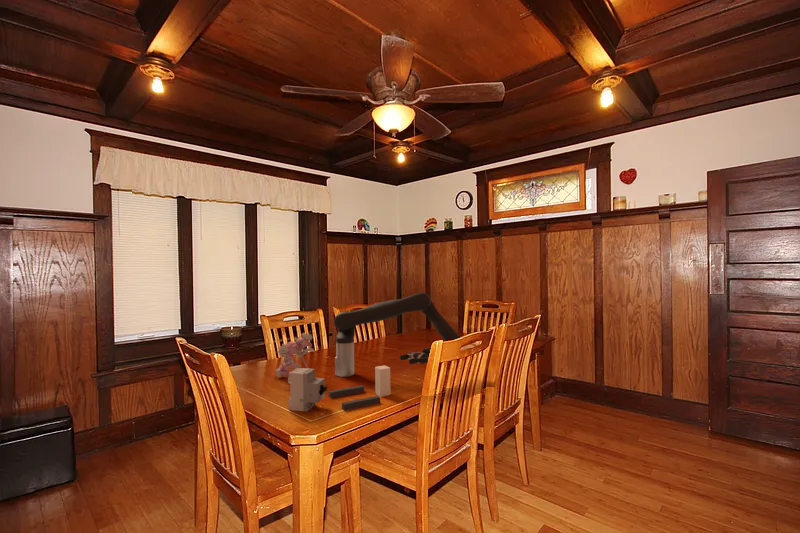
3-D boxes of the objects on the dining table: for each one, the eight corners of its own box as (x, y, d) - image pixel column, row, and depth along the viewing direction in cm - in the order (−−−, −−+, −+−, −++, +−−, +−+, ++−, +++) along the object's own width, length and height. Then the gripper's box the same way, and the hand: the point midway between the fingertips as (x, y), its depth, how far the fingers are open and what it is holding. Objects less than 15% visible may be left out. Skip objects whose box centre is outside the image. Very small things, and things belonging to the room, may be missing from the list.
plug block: (385, 391, 177) (385, 365, 176) (390, 394, 172) (390, 367, 172) (375, 393, 174) (375, 366, 174) (380, 396, 170) (380, 369, 170)
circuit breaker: (321, 412, 153) (321, 374, 152) (288, 410, 155) (288, 372, 155) (329, 405, 160) (328, 369, 160) (297, 403, 163) (296, 367, 163)
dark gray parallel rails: (362, 390, 178) (362, 385, 178) (380, 403, 162) (380, 397, 162) (328, 396, 171) (328, 391, 171) (344, 410, 154) (343, 404, 154)
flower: (305, 365, 219) (285, 327, 211) (331, 367, 204) (311, 327, 197) (278, 389, 204) (256, 350, 197) (304, 393, 190) (281, 351, 183)
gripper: (425, 344, 192) (397, 348, 185) (442, 349, 180) (412, 354, 172) (426, 359, 192) (397, 364, 185) (442, 365, 180) (412, 371, 172)
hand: (404, 359), depth 178 cm, fingers open, 8 cm apart
